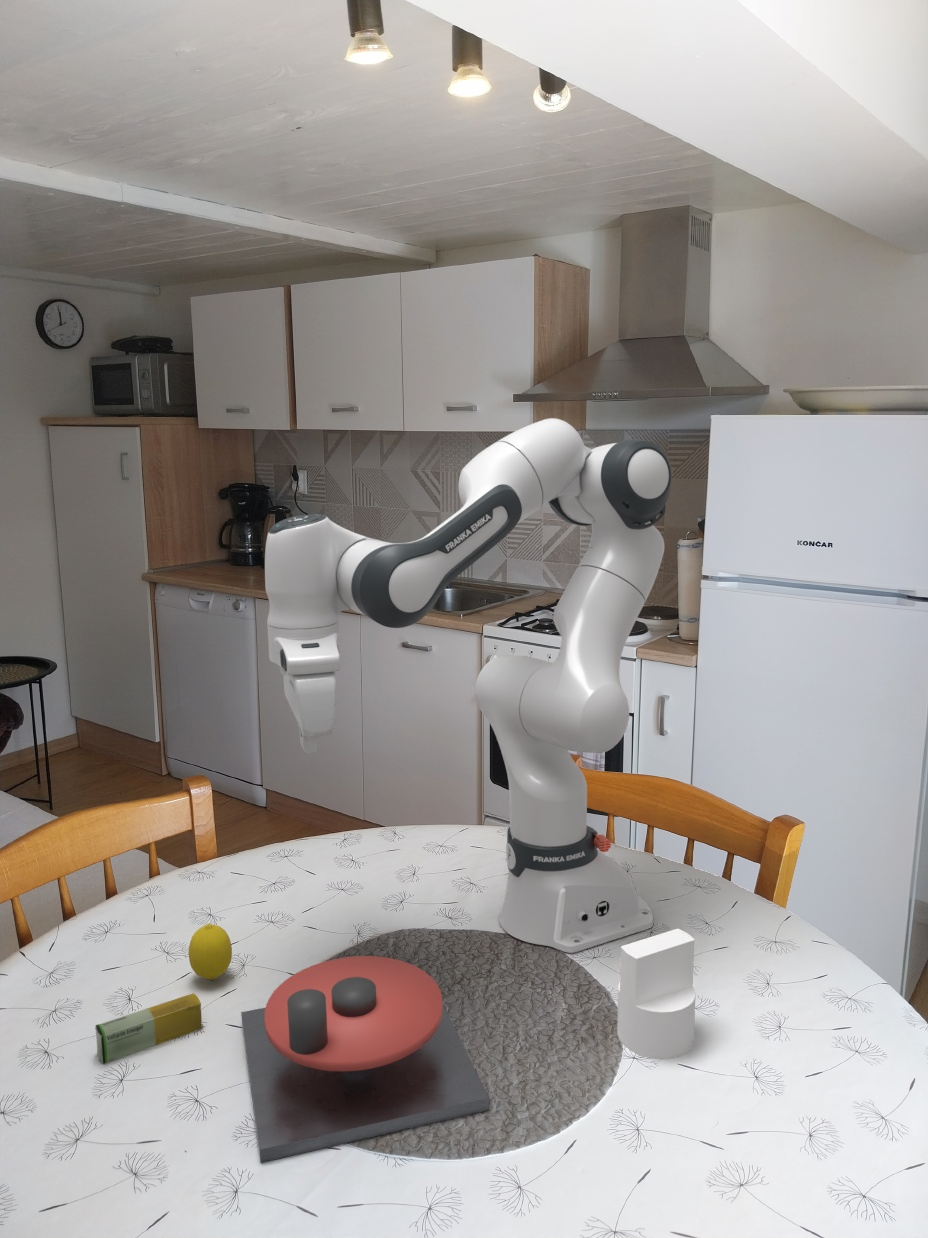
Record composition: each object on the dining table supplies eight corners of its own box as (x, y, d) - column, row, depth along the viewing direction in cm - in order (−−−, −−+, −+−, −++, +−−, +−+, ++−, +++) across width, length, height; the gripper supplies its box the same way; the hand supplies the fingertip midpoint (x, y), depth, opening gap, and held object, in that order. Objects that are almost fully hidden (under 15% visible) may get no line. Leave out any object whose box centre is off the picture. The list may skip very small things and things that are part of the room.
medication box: (102, 1067, 110) (99, 1037, 109) (96, 1054, 112) (93, 1024, 111) (203, 1030, 117) (201, 1001, 116) (196, 1019, 119) (194, 990, 118)
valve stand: (430, 987, 124) (429, 945, 123) (489, 1110, 102) (488, 1059, 101) (241, 1023, 118) (238, 978, 116) (260, 1163, 95) (257, 1109, 94)
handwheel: (339, 949, 122) (337, 904, 121) (474, 994, 112) (474, 945, 111) (226, 1034, 105) (223, 983, 104) (374, 1095, 95) (372, 1040, 94)
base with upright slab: (648, 1068, 108) (651, 972, 106) (602, 1025, 116) (603, 935, 114) (709, 1044, 112) (713, 951, 110) (661, 1004, 120) (663, 917, 118)
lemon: (222, 993, 124) (218, 937, 122) (183, 989, 125) (178, 933, 123) (240, 970, 129) (237, 916, 128) (202, 966, 130) (198, 912, 129)
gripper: (270, 630, 129) (275, 728, 132) (288, 665, 110) (294, 779, 113) (316, 627, 131) (321, 724, 134) (343, 660, 112) (347, 772, 115)
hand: (309, 749), depth 123 cm, fingers closed
